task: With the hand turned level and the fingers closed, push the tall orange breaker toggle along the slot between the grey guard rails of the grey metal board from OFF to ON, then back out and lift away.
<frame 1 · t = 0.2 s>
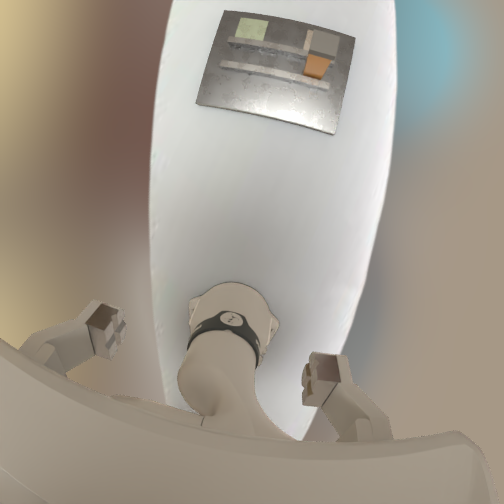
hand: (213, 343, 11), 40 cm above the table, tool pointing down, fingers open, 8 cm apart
breaker toggle: (318, 58, 32), point 9 cm above the table, slide at 0.0 cm
grey metal board: (277, 66, 41), on the table
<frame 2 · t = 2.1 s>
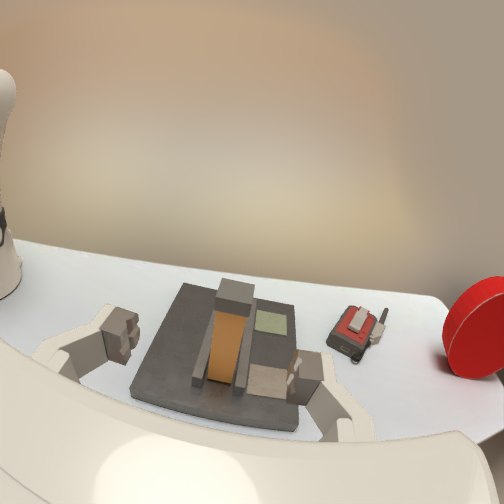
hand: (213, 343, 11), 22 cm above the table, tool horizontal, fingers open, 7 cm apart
walkie-talkie: (359, 331, 49), on the table
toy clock: (461, 369, 40), on the table
breaker toggle: (227, 337, 30), point 9 cm above the table, slide at 0.0 cm
grey metal board: (226, 351, 39), on the table
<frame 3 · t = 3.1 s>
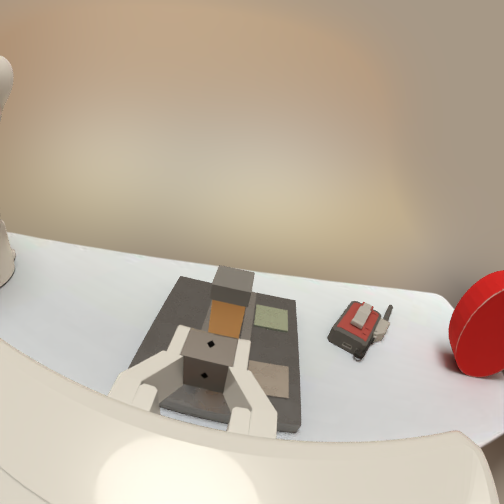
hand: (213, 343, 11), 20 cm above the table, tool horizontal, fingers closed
walkie-talkie: (362, 328, 47), on the table
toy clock: (468, 367, 38), on the table
breaker toggle: (224, 330, 28), point 9 cm above the table, slide at 0.0 cm
grey metal board: (223, 346, 37), on the table
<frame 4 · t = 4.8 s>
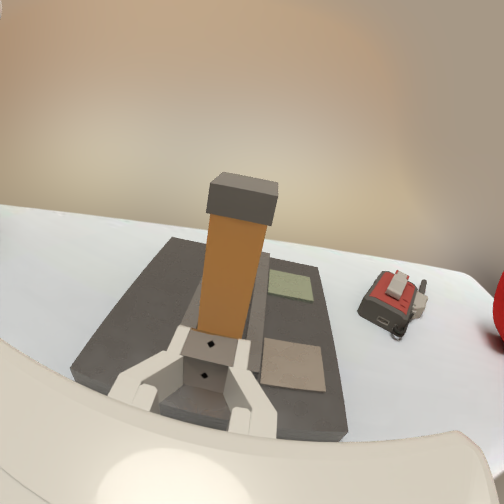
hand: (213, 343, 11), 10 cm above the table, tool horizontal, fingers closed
walkie-talkie: (395, 303, 37), on the table
breaker toggle: (229, 281, 18), point 9 cm above the table, slide at 0.0 cm
grey metal board: (226, 322, 27), on the table
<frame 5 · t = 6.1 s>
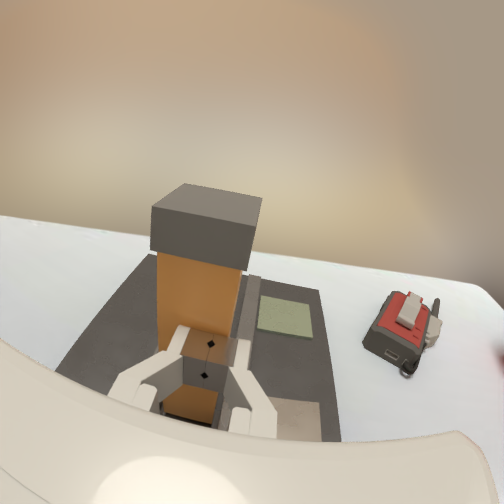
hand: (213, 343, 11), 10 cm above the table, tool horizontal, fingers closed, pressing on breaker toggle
walkie-talkie: (406, 328, 31), on the table
breaker toggle: (198, 330, 13), point 9 cm above the table, slide at 0.9 cm, touching gripper
grey metal board: (206, 365, 21), on the table
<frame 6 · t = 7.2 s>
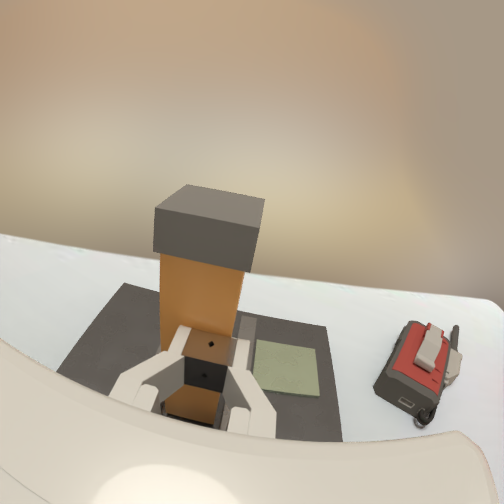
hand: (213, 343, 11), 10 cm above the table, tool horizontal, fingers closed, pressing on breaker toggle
walkie-talkie: (422, 363, 25), on the table
breaker toggle: (200, 331, 13), point 9 cm above the table, slide at 7.3 cm, touching gripper
grey metal board: (189, 431, 16), on the table
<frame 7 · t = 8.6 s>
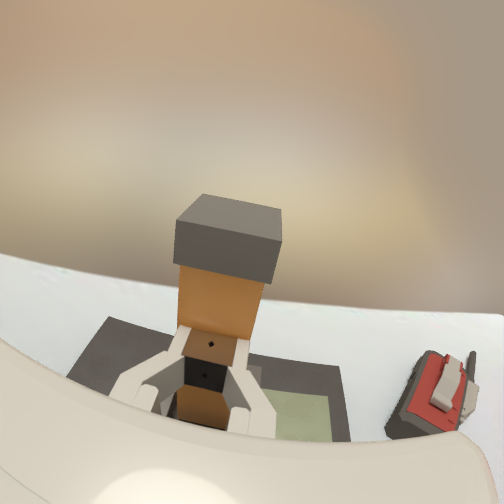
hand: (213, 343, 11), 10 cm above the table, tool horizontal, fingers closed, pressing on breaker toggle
walkie-talkie: (437, 396, 21), on the table
breaker toggle: (215, 339, 13), point 9 cm above the table, slide at 12.0 cm, touching gripper
grey metal board: (186, 494, 11), on the table
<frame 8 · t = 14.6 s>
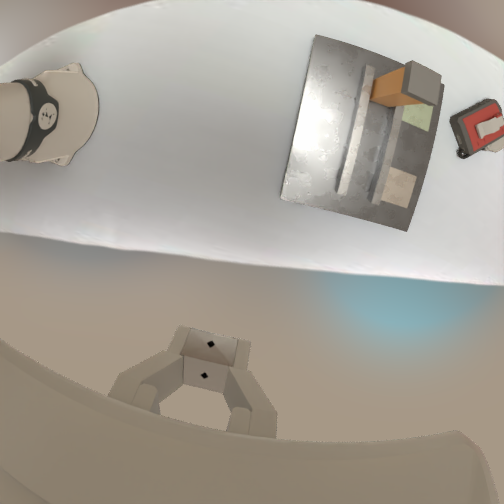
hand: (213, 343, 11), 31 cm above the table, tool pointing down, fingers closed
walkie-talkie: (486, 124, 30), on the table
breaker toggle: (399, 88, 24), point 9 cm above the table, slide at 12.1 cm
grey metal board: (366, 133, 34), on the table
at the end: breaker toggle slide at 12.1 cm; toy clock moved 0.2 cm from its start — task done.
